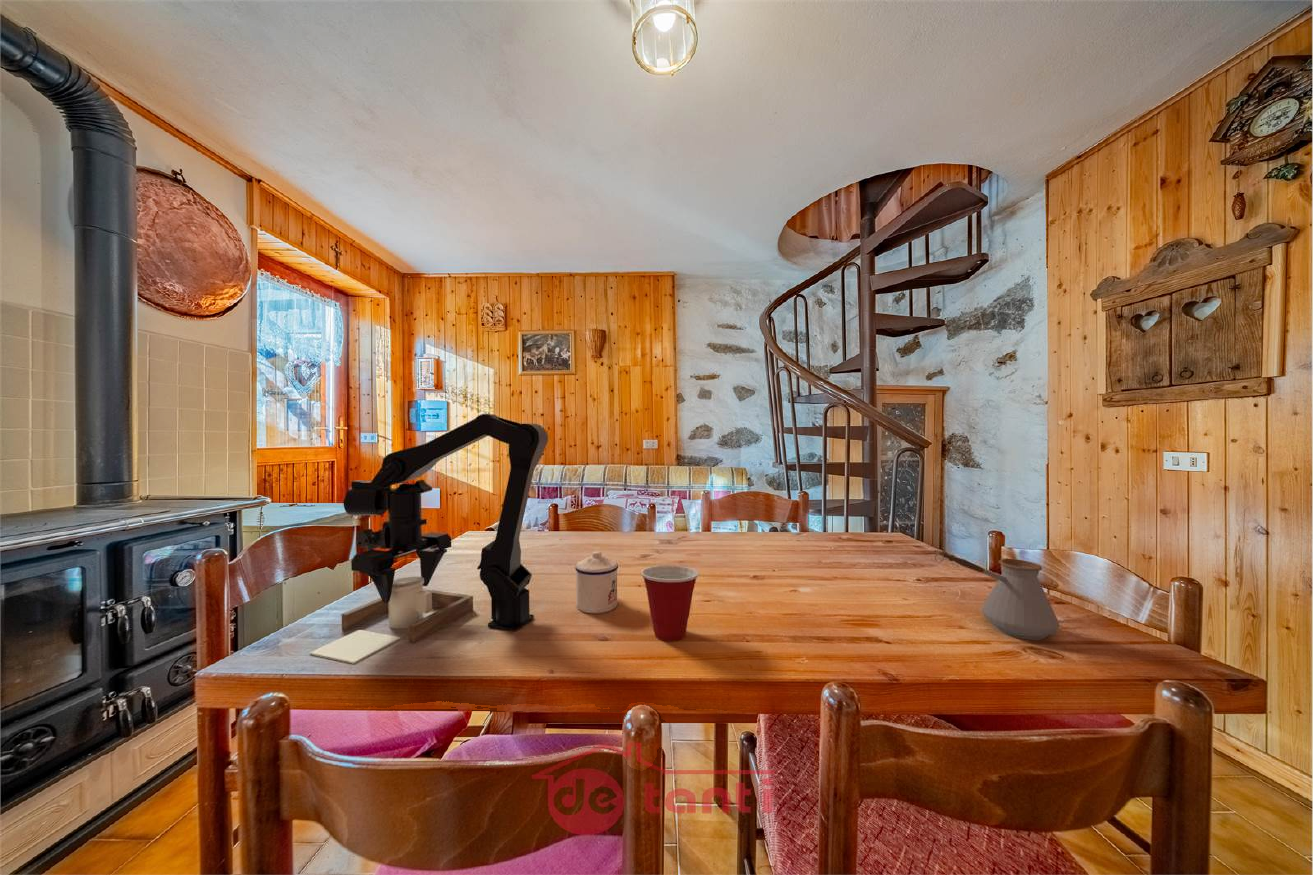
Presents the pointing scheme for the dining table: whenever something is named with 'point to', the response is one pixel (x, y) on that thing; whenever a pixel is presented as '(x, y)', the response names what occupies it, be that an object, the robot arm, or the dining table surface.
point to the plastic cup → (669, 599)
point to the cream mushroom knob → (408, 602)
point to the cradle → (450, 611)
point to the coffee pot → (1016, 599)
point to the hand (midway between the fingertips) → (406, 593)
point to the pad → (355, 646)
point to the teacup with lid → (596, 584)
